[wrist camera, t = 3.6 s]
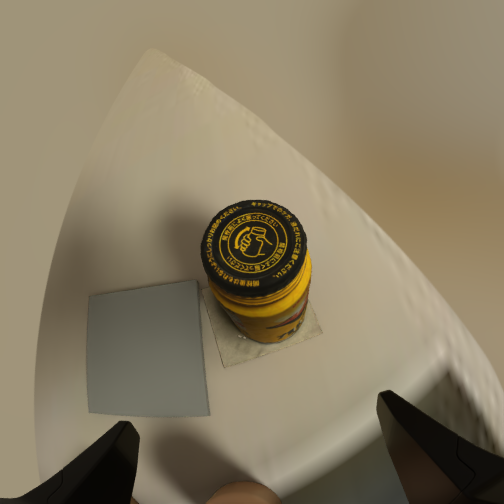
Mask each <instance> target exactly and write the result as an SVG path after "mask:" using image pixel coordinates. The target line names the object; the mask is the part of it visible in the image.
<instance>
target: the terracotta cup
mask: <svg viewBox="0 0 504 504" xmlns="http://www.w3.org/2000/svg"><path fill="white" fill-rule="evenodd" d="M205 504H282V503H281V500H280V499H279V497H278V496H277V495H276V494H275V493H274V492H273V491H272V490H271V489H269V488H268V487H266V486H264V485H261V484H258V483H255V482H249V481H238V482H233V483H229V484H227V485H224V486H223V487H221V488H220V489H218V490H217V491H216V492H215V493H214V494H213V496H212V497H211V498H210V499H209V500H208V501H207V502H206V503H205Z"/></svg>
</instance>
